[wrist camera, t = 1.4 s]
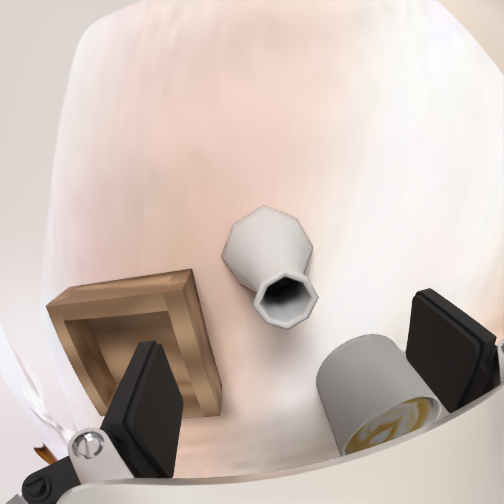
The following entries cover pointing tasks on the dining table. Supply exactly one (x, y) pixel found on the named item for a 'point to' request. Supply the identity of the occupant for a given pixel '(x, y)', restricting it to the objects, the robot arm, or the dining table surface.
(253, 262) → the flask
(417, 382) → the coffee mug
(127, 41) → the dining table surface
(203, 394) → the walnut well
